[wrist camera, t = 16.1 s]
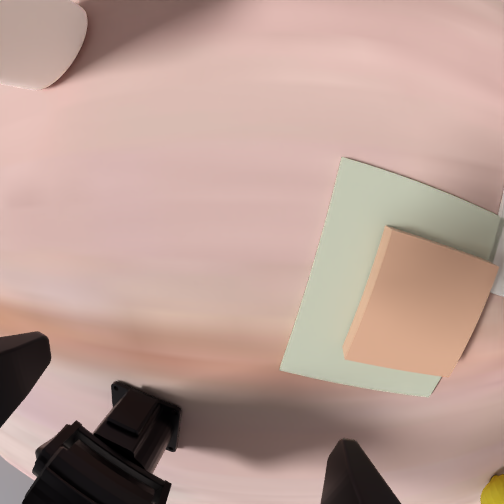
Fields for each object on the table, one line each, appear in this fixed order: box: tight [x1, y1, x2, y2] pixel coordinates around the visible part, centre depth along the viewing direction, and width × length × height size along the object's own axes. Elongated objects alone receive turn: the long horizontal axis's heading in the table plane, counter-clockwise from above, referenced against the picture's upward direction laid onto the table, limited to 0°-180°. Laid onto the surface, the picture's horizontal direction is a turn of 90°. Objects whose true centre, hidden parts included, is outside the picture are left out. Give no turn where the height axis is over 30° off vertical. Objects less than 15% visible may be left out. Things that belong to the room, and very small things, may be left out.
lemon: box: [480, 474, 504, 504], centre depth 16 cm, size 7×6×10 cm
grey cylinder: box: [0, 0, 88, 90], centre depth 11 cm, size 8×8×12 cm
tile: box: [342, 225, 499, 378], centre depth 16 cm, size 8×2×8 cm
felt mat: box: [280, 157, 504, 397], centre depth 17 cm, size 14×12×1 cm
